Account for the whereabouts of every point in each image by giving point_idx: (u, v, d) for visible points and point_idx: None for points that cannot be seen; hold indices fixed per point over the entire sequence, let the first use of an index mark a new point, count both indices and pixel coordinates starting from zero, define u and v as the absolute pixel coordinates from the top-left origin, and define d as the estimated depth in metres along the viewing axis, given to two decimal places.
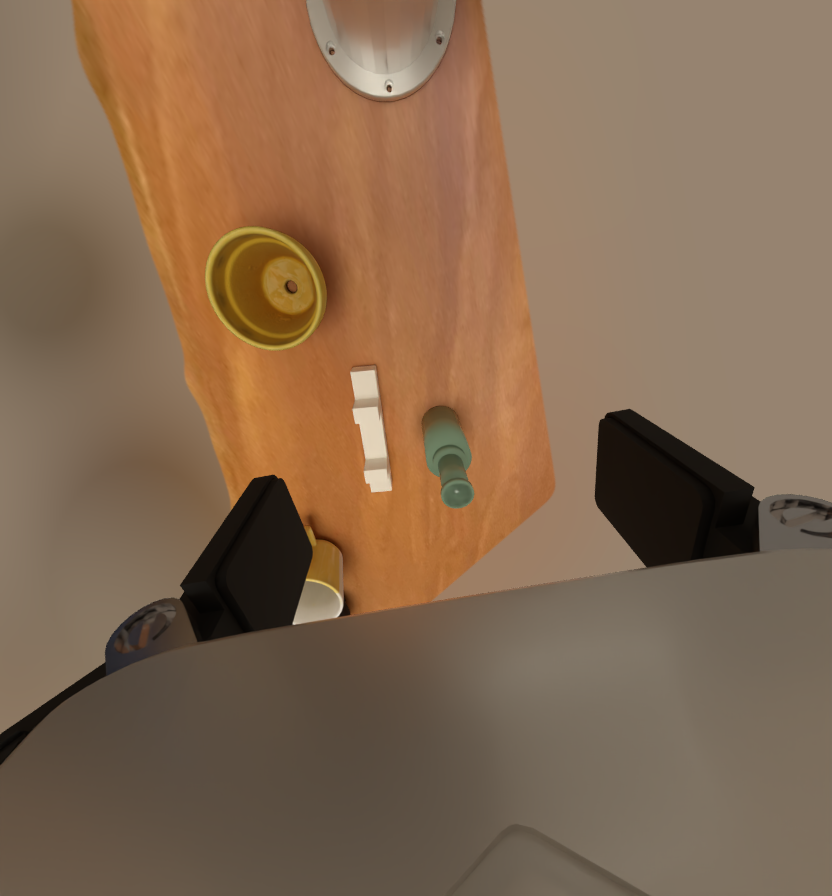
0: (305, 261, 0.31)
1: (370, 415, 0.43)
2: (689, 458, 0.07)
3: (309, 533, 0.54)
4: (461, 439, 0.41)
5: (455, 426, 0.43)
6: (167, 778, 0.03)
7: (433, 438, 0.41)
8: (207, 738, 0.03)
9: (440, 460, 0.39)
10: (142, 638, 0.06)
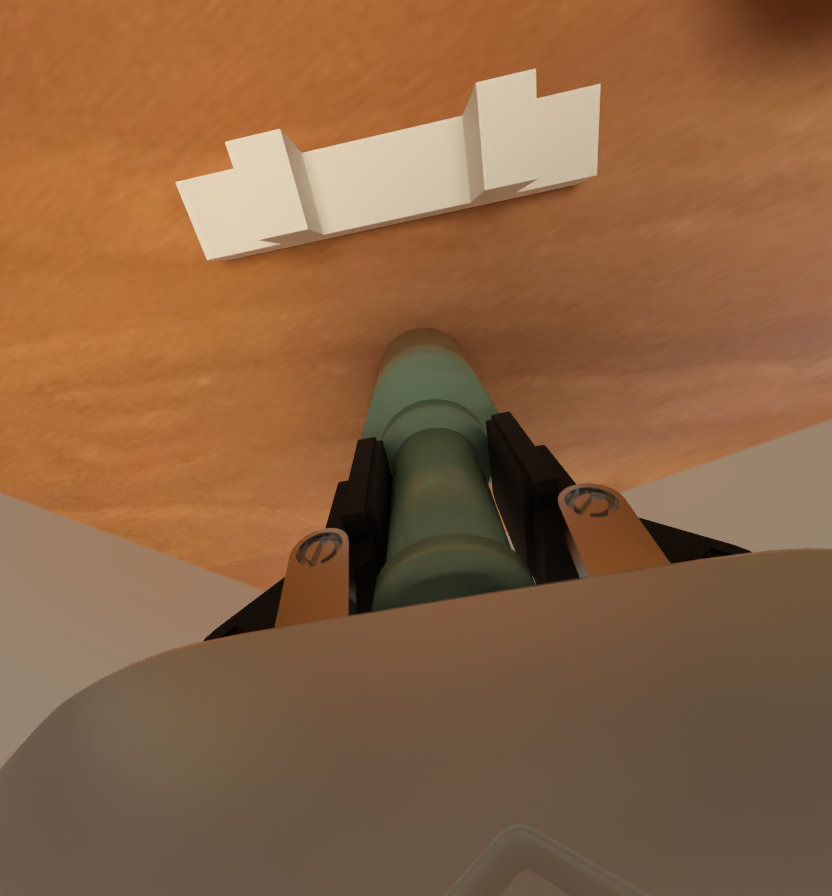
0: None
1: (507, 151, 0.13)
2: (526, 454, 0.08)
3: None
4: None
5: None
6: (167, 778, 0.03)
7: (479, 383, 0.13)
8: (207, 738, 0.03)
9: (458, 436, 0.11)
10: (318, 557, 0.07)
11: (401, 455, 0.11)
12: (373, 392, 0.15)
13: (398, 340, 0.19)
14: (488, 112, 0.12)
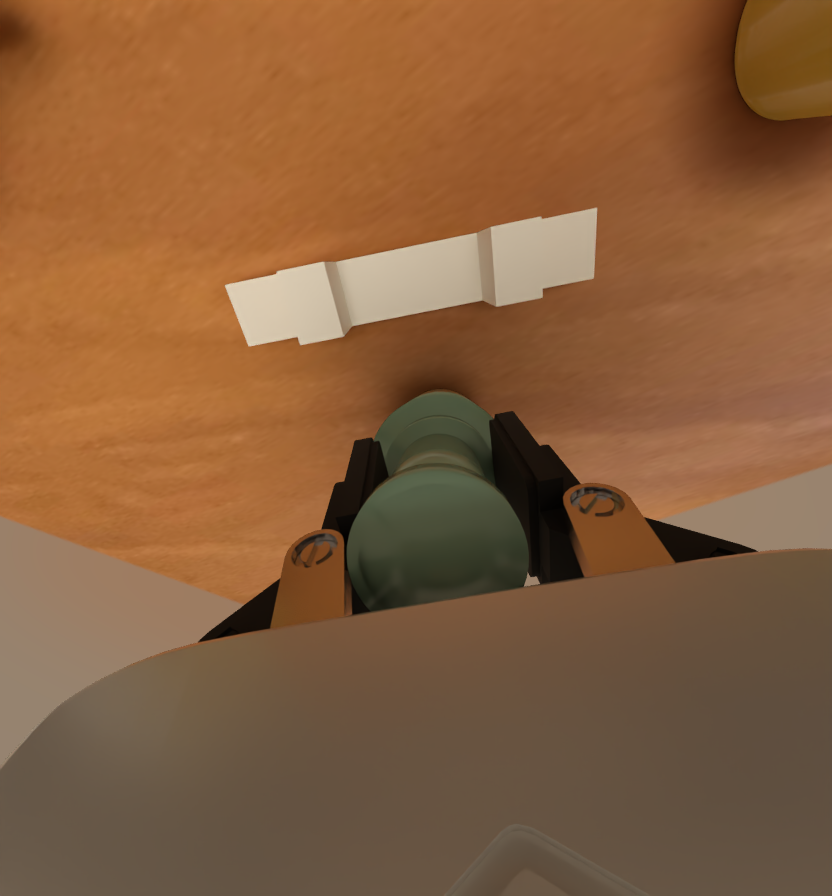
0: None
1: (516, 277, 0.15)
2: (531, 453, 0.08)
3: None
4: None
5: None
6: (167, 778, 0.03)
7: (475, 404, 0.14)
8: (207, 738, 0.03)
9: (452, 437, 0.11)
10: (313, 558, 0.07)
11: None
12: None
13: None
14: (500, 248, 0.14)
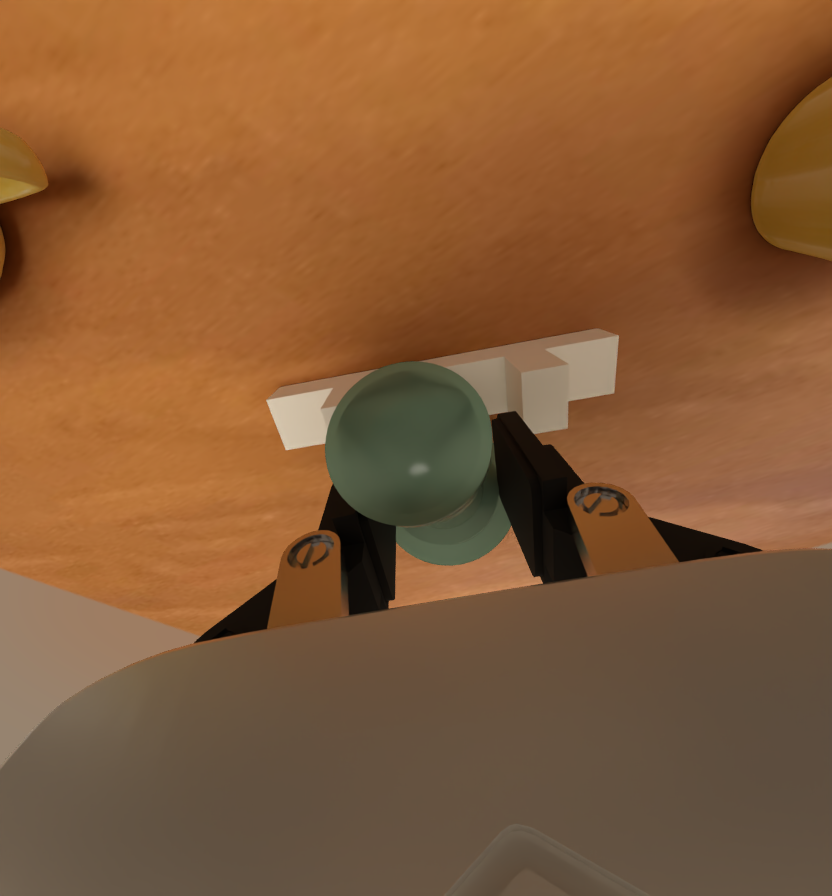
0: None
1: (543, 412, 0.16)
2: (534, 453, 0.08)
3: (9, 181, 0.14)
4: None
5: None
6: (167, 778, 0.03)
7: None
8: (207, 738, 0.03)
9: None
10: (309, 559, 0.07)
11: None
12: None
13: None
14: (530, 389, 0.15)
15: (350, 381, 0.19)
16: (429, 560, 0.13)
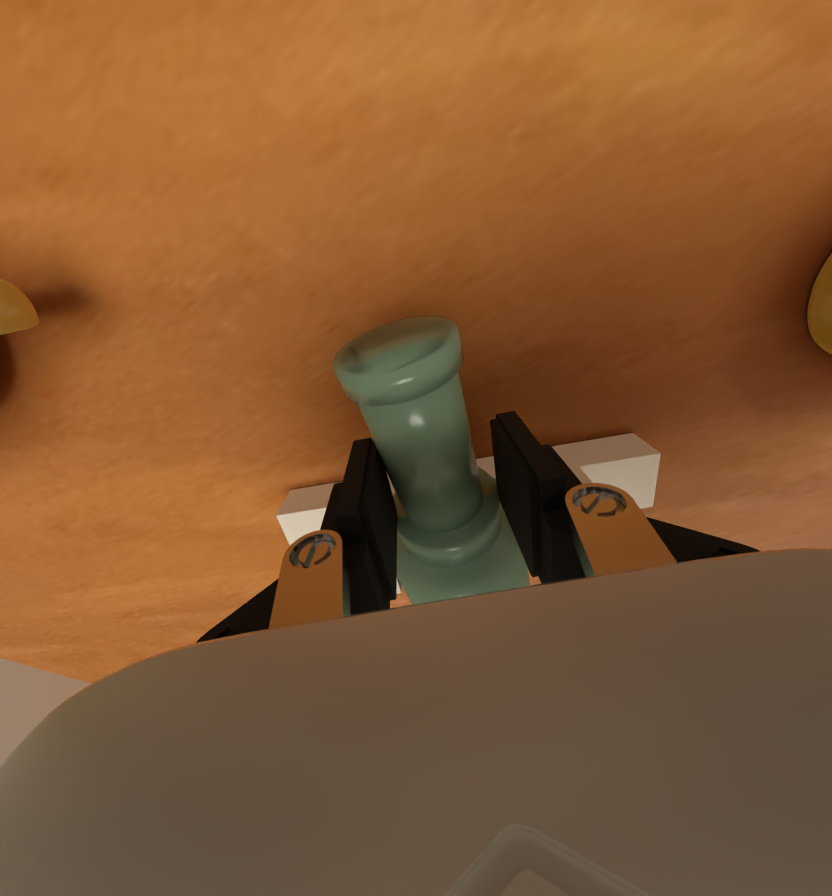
0: None
1: None
2: (532, 453, 0.08)
3: None
4: (519, 553, 0.12)
5: None
6: (167, 778, 0.03)
7: None
8: (207, 738, 0.03)
9: None
10: (311, 559, 0.07)
11: None
12: None
13: None
14: None
15: None
16: (419, 581, 0.12)
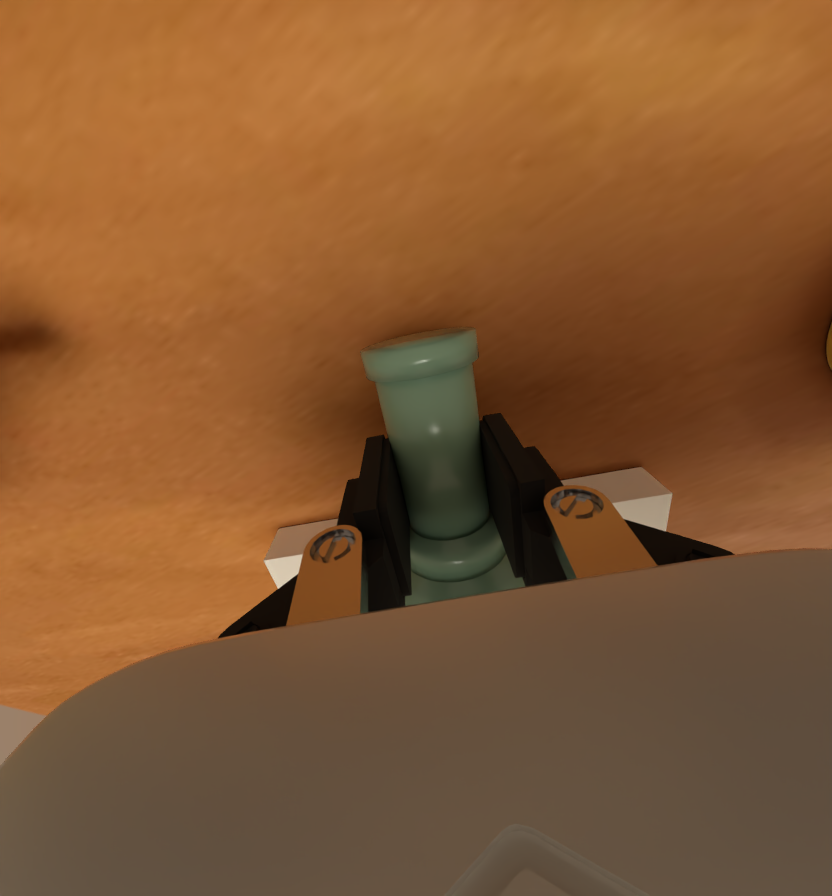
0: None
1: None
2: (514, 455, 0.08)
3: None
4: None
5: None
6: (167, 778, 0.03)
7: None
8: (207, 738, 0.03)
9: None
10: (332, 553, 0.07)
11: None
12: None
13: None
14: None
15: None
16: (428, 597, 0.11)
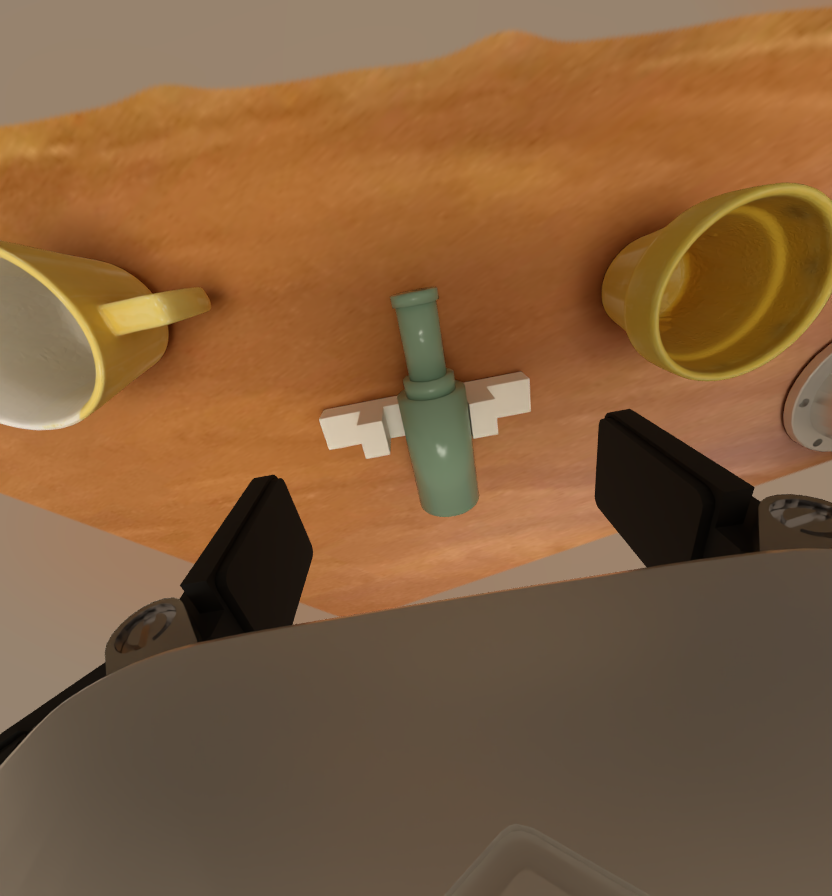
0: (764, 359, 0.22)
1: (483, 425, 0.28)
2: (689, 458, 0.07)
3: None
4: None
5: (470, 430, 0.29)
6: (167, 778, 0.03)
7: None
8: (207, 738, 0.03)
9: None
10: (142, 638, 0.06)
11: None
12: None
13: None
14: (474, 413, 0.27)
15: (370, 406, 0.31)
16: (433, 402, 0.25)
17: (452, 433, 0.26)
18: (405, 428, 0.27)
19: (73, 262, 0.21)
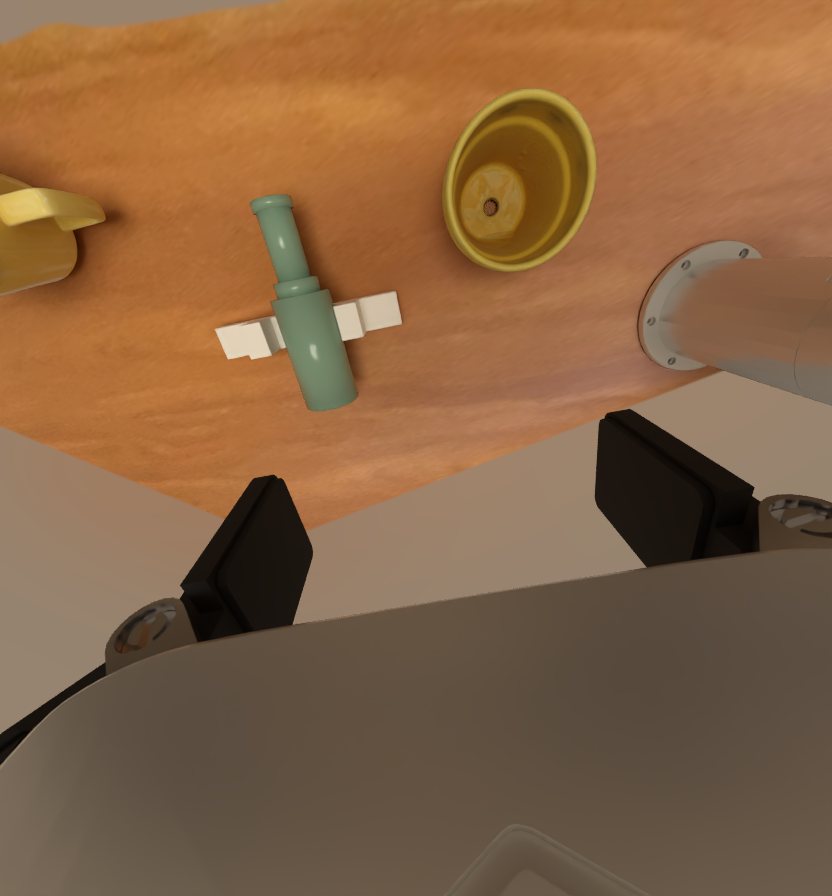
0: (553, 251, 0.26)
1: (349, 328, 0.32)
2: (689, 458, 0.07)
3: (87, 218, 0.30)
4: (330, 297, 0.31)
5: None
6: (167, 778, 0.03)
7: None
8: (207, 738, 0.03)
9: None
10: (142, 638, 0.06)
11: None
12: None
13: None
14: (339, 315, 0.32)
15: (260, 319, 0.35)
16: (292, 297, 0.29)
17: (314, 328, 0.30)
18: (279, 328, 0.32)
19: None
